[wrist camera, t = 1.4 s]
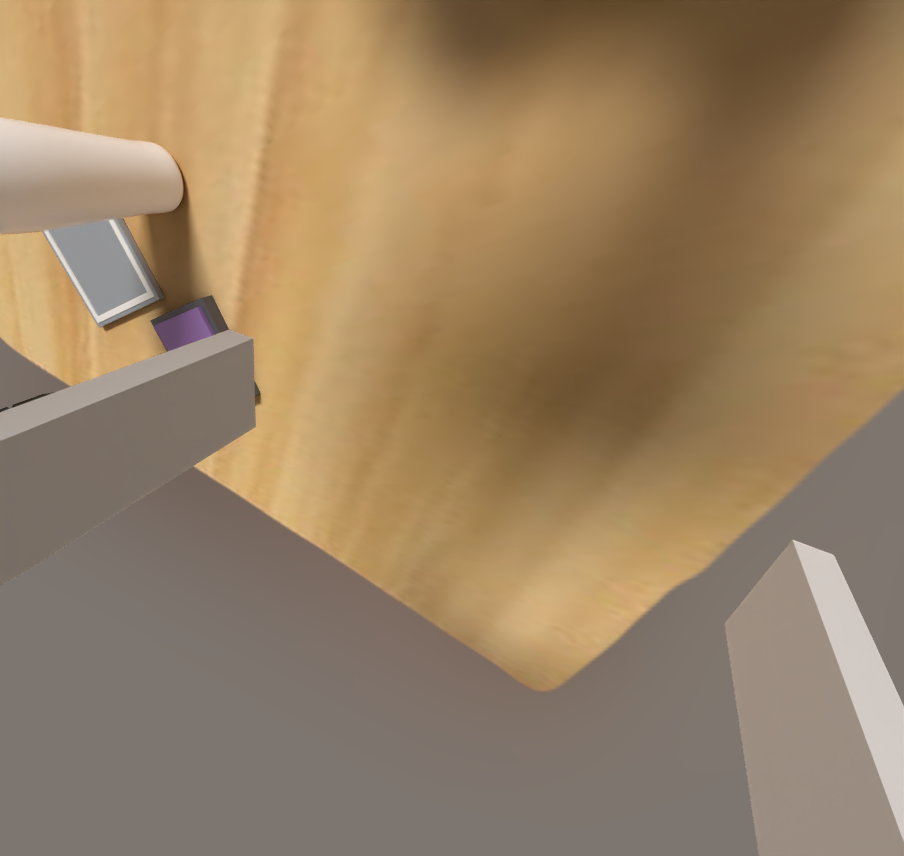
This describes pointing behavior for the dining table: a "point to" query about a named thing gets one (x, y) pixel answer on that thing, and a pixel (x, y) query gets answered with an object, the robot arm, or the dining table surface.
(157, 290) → the plate
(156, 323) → the ink pad
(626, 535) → the dining table surface
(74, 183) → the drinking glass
